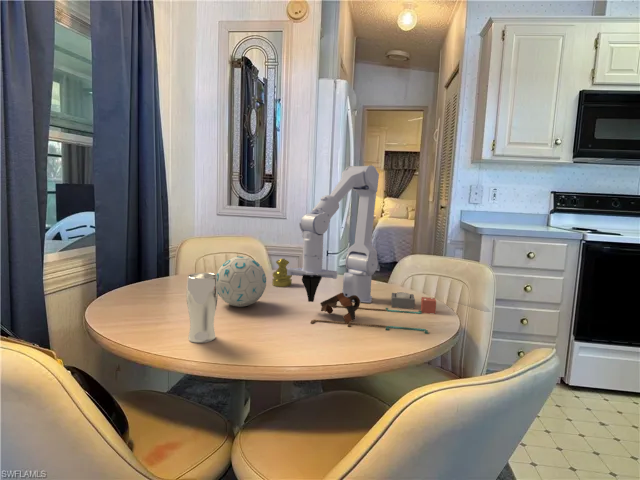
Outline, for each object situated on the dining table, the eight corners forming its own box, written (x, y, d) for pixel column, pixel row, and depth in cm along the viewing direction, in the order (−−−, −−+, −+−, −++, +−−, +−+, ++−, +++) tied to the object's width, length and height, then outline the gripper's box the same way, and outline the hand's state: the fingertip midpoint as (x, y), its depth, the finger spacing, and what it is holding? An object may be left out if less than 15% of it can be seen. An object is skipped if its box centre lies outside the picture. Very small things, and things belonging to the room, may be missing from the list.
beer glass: (190, 333, 98) (190, 272, 97) (219, 333, 99) (220, 272, 97) (183, 343, 92) (183, 278, 90) (214, 344, 92) (215, 279, 91)
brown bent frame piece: (340, 328, 108) (327, 299, 109) (323, 333, 116) (311, 306, 117) (372, 310, 115) (359, 284, 116) (354, 316, 123) (342, 291, 124)
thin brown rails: (310, 323, 109) (310, 322, 109) (321, 303, 130) (322, 302, 130) (428, 333, 105) (428, 332, 105) (421, 311, 125) (421, 310, 125)
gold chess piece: (280, 281, 159) (281, 256, 158) (295, 284, 154) (296, 258, 153) (267, 284, 153) (268, 258, 152) (282, 288, 149) (283, 261, 147)
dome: (395, 304, 129) (396, 294, 129) (395, 300, 134) (396, 290, 133) (409, 305, 129) (410, 295, 128) (409, 301, 133) (409, 291, 133)
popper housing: (391, 307, 128) (392, 297, 128) (391, 301, 135) (391, 292, 135) (414, 309, 127) (414, 299, 127) (412, 303, 134) (413, 294, 134)
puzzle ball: (227, 297, 133) (228, 251, 131) (272, 301, 130) (273, 254, 128) (206, 310, 118) (206, 258, 116) (256, 314, 115) (257, 262, 114)
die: (421, 313, 124) (422, 299, 123) (420, 309, 128) (421, 296, 127) (435, 314, 123) (436, 300, 123) (433, 310, 127) (434, 297, 126)
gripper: (285, 255, 115) (283, 302, 117) (336, 258, 113) (334, 306, 114) (290, 252, 122) (289, 296, 123) (338, 255, 120) (336, 300, 121)
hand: (311, 300), depth 119 cm, fingers closed
